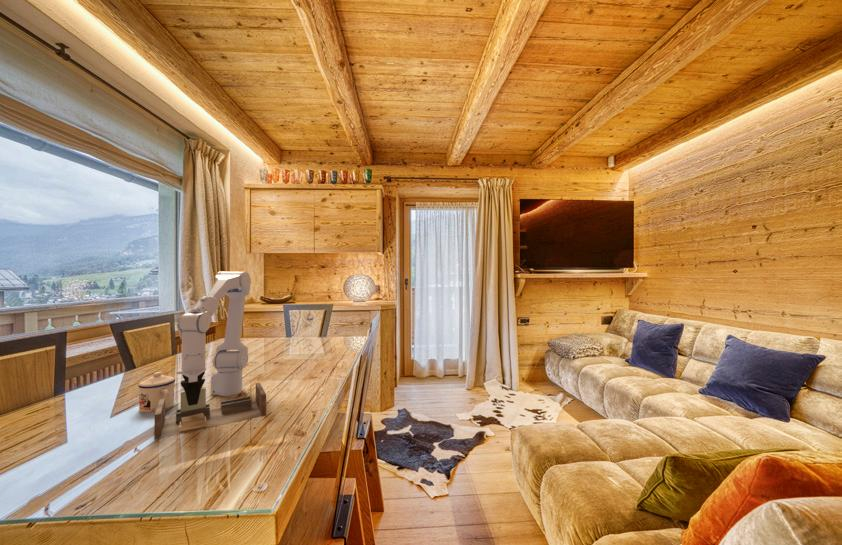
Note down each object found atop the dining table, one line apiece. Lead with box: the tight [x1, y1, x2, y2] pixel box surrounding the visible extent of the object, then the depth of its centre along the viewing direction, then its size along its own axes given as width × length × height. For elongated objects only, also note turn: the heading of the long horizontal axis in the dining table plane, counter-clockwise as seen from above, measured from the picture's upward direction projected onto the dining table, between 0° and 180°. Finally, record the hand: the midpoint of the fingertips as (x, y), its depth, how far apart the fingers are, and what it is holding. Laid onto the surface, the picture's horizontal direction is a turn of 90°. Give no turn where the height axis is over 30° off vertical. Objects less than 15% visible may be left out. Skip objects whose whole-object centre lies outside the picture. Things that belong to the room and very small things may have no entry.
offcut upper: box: [181, 413, 205, 427], centre depth 90 cm, size 3×5×1 cm
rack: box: [153, 382, 267, 440], centre depth 96 cm, size 14×26×7 cm, turn 124°
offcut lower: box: [179, 417, 206, 432], centre depth 90 cm, size 4×6×1 cm, turn 124°
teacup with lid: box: [138, 371, 176, 413], centre depth 104 cm, size 12×9×12 cm
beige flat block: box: [180, 386, 207, 412], centre depth 96 cm, size 2×6×8 cm, turn 124°
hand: (193, 400), depth 96 cm, fingers open, 7 cm apart
